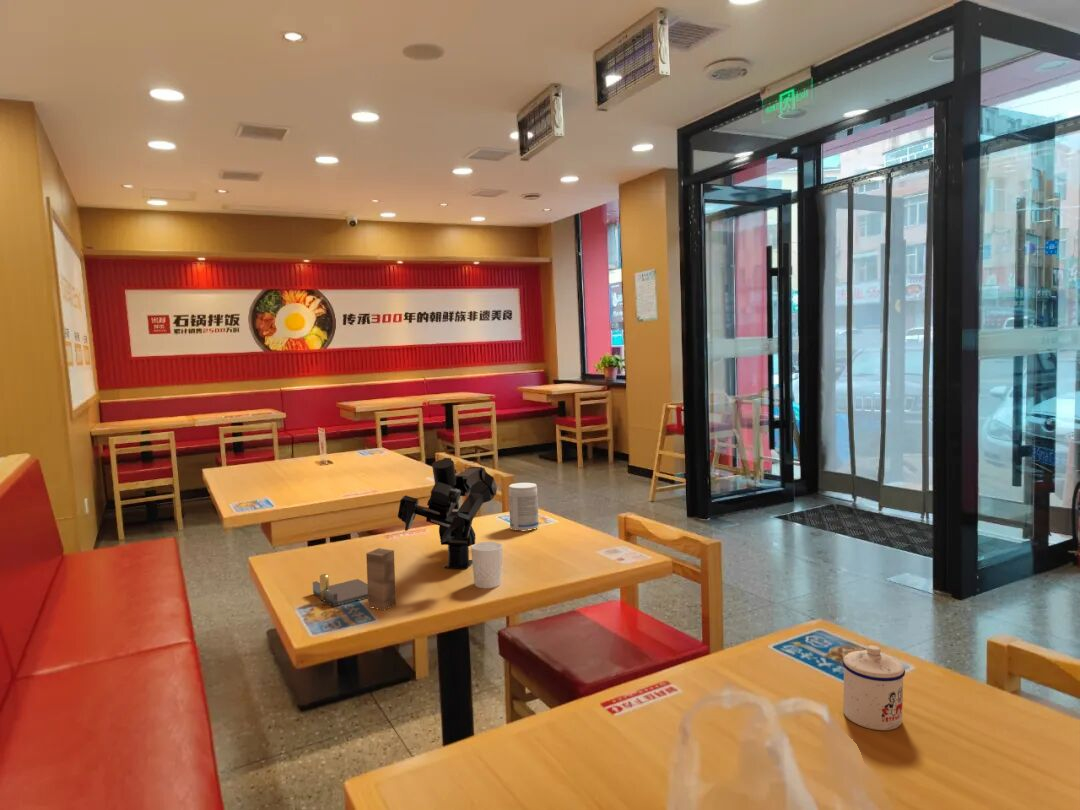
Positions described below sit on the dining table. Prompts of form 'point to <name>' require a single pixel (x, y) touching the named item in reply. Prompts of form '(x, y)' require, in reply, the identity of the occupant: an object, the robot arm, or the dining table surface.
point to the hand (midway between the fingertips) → (423, 535)
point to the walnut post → (381, 578)
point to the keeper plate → (340, 590)
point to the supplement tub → (523, 506)
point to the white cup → (487, 564)
